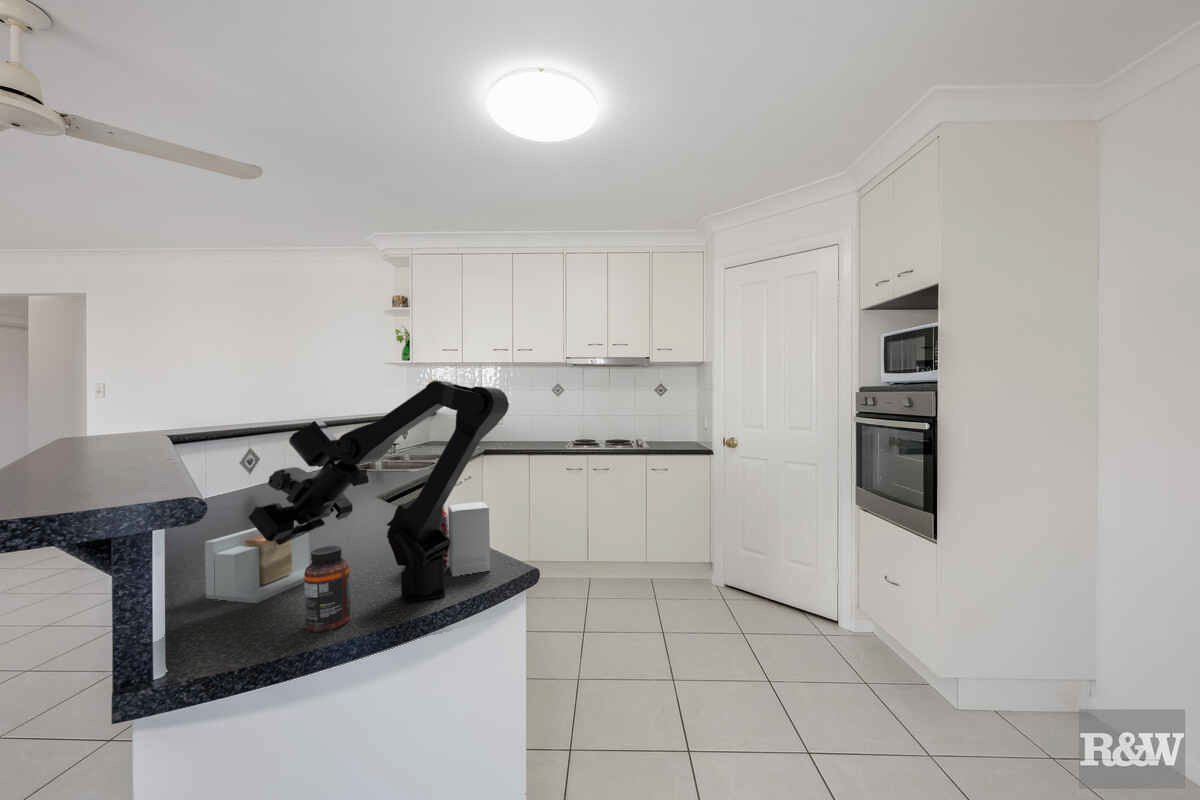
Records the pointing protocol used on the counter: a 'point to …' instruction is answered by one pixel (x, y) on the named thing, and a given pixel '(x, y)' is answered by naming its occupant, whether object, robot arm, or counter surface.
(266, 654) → the counter surface
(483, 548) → the supplement box
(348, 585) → the supplement bottle
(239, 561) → the mount
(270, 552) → the push block
